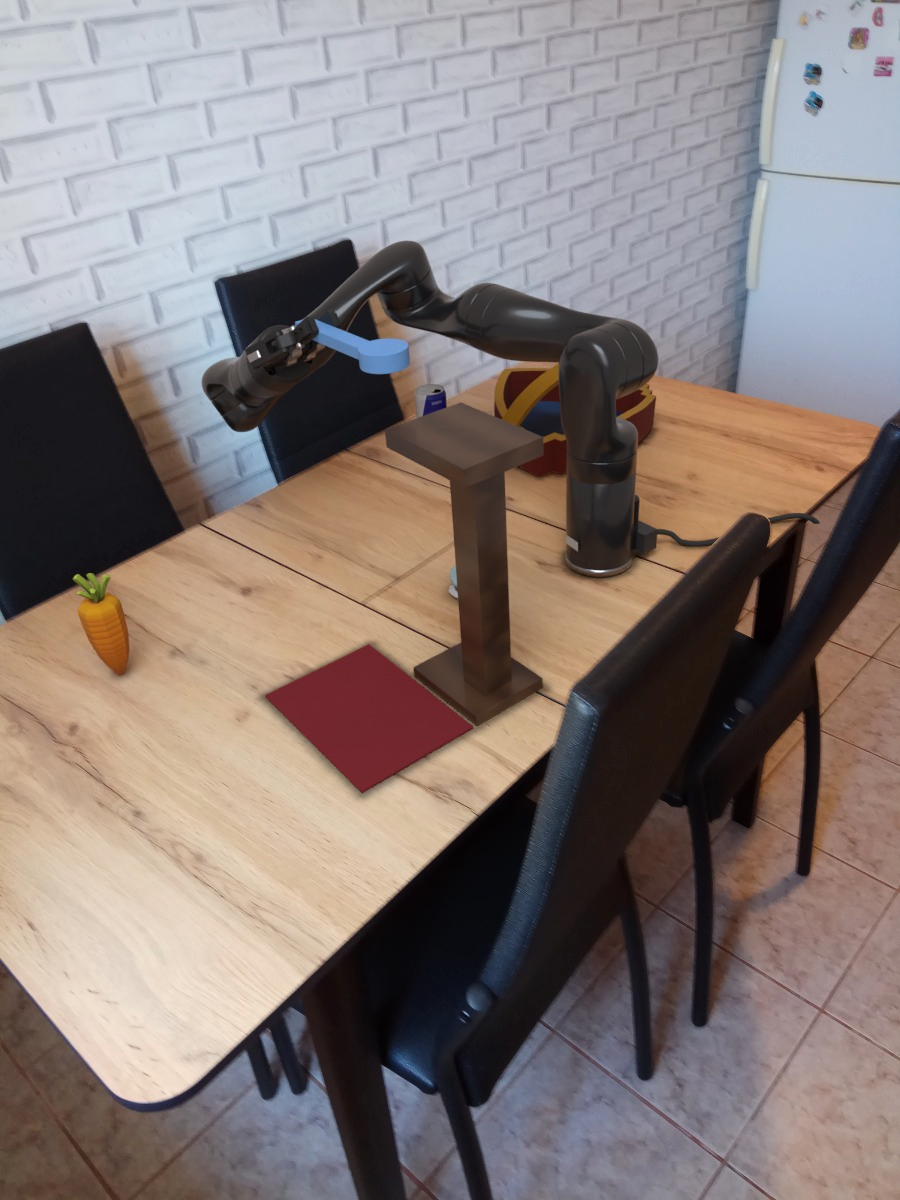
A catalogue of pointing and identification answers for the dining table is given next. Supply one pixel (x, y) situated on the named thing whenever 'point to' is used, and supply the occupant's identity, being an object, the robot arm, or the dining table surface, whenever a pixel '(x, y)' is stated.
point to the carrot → (104, 622)
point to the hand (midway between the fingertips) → (324, 321)
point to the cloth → (367, 716)
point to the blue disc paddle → (366, 349)
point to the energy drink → (429, 399)
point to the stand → (474, 552)
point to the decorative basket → (556, 412)
